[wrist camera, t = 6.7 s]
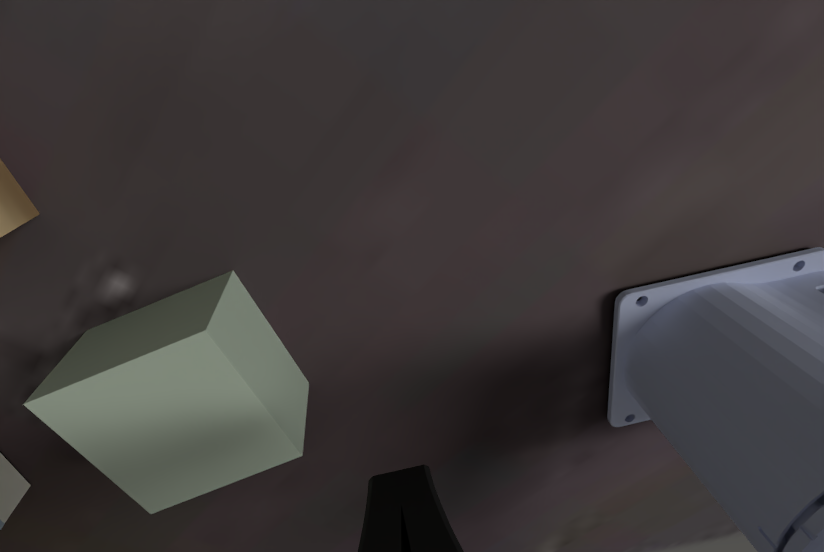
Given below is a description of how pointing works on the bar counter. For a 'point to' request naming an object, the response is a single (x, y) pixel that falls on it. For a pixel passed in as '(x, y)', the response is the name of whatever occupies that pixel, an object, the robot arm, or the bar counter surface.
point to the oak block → (13, 203)
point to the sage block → (179, 395)
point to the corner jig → (10, 489)
